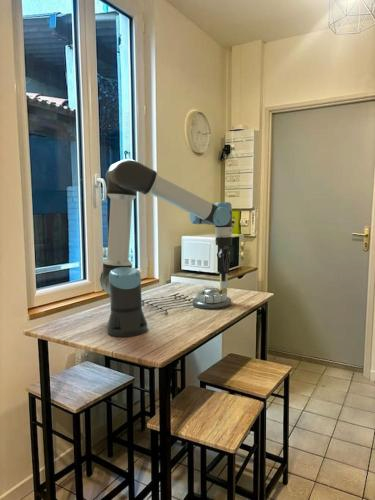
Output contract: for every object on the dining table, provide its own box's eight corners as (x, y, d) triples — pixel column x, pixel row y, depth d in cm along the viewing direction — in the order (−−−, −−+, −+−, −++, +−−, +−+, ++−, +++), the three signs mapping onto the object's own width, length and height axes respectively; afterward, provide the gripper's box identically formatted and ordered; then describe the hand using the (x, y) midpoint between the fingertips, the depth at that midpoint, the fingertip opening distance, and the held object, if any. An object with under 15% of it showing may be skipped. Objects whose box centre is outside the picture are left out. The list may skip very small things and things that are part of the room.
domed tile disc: (232, 300, 175) (232, 275, 174) (203, 304, 171) (202, 278, 169) (220, 294, 188) (219, 270, 187) (192, 297, 184) (192, 273, 183)
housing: (201, 311, 168) (201, 295, 168) (187, 301, 185) (186, 287, 184) (238, 306, 175) (238, 291, 174) (220, 297, 191) (220, 283, 191)
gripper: (227, 237, 167) (227, 290, 170) (235, 235, 179) (236, 285, 181) (211, 237, 170) (211, 289, 173) (220, 235, 182) (221, 284, 184)
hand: (224, 287), depth 177 cm, fingers closed
